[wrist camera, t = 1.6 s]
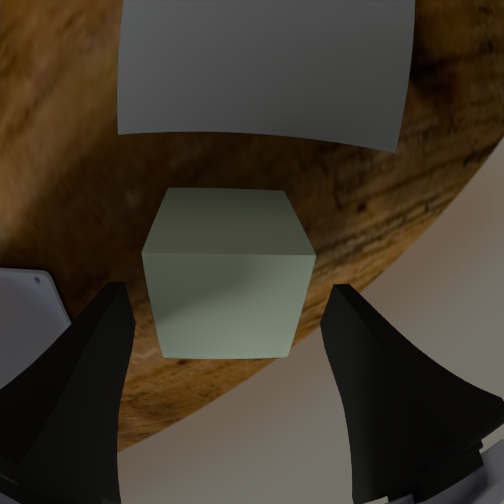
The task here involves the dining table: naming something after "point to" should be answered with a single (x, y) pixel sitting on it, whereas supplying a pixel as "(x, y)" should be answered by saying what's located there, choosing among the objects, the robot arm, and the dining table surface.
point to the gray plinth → (267, 68)
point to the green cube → (226, 273)
